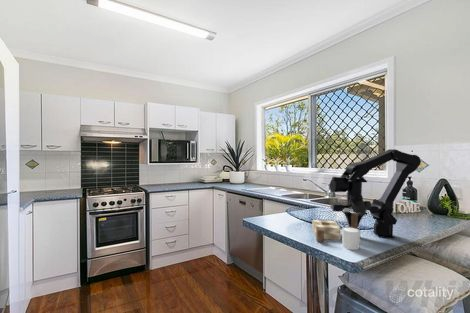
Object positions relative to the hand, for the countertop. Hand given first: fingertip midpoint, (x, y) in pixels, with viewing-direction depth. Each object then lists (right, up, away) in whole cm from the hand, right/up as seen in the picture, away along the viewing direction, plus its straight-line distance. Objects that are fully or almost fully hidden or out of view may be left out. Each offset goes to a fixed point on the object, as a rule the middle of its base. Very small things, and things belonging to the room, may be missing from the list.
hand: (353, 226), depth 108 cm
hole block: (-12, -4, +1) cm, 13 cm away
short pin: (-17, -4, -6) cm, 19 cm away
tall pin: (0, -4, 0) cm, 4 cm away
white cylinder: (-7, -5, -12) cm, 15 cm away
